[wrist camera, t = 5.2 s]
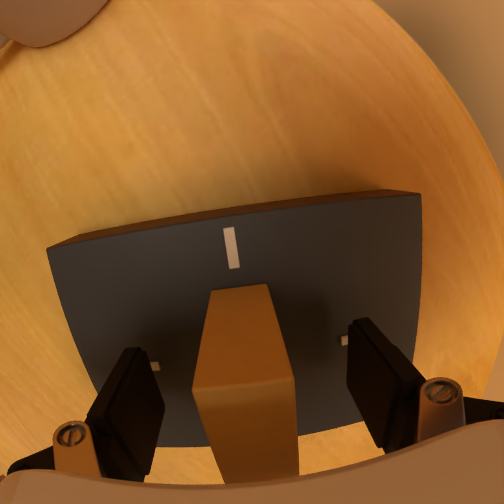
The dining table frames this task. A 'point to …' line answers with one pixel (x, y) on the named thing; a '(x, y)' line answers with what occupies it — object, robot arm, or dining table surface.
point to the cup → (44, 20)
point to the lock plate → (246, 274)
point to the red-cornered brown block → (246, 388)
